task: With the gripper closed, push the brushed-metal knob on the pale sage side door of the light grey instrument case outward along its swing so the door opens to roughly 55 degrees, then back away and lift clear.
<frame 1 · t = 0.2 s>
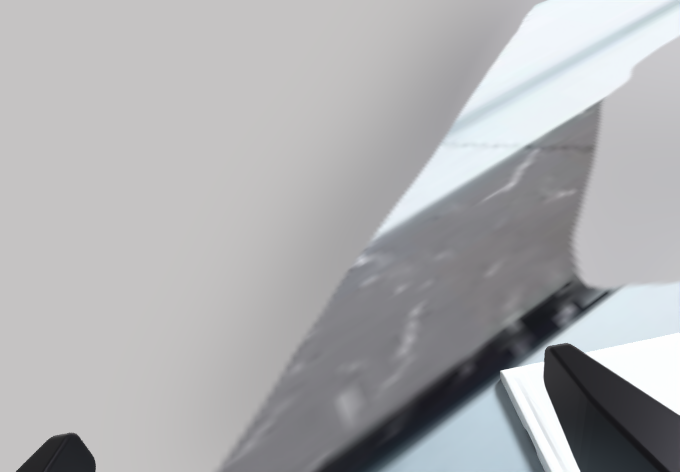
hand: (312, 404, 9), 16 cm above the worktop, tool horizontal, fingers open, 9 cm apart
external hard drive: (647, 425, 25), on the worktop
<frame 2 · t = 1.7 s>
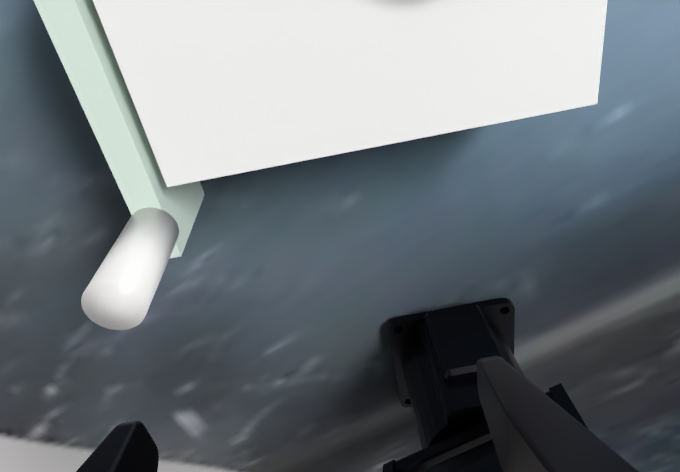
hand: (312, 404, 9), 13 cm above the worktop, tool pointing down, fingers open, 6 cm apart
side door: (109, 113, 14), point 5 cm above the worktop, hinge at 0.0°
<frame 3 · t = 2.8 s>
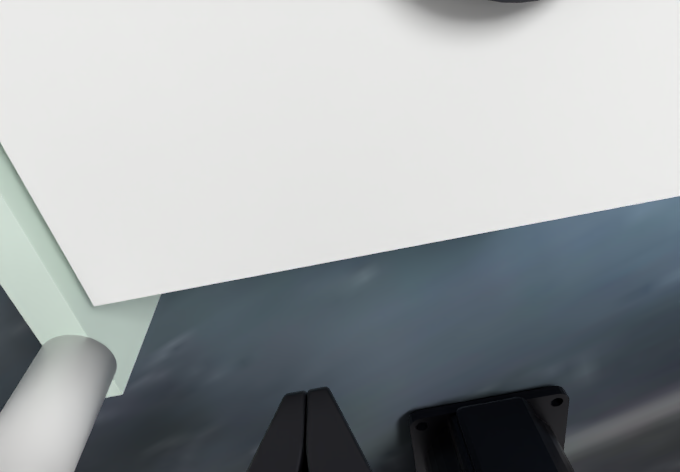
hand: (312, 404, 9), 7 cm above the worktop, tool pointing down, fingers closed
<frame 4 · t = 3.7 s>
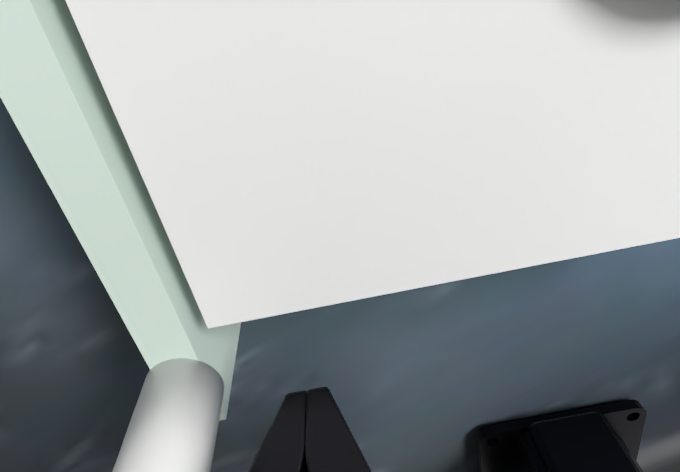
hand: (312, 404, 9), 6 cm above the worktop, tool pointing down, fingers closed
side door: (114, 220, 8), point 5 cm above the worktop, hinge at 0.0°, touching gripper
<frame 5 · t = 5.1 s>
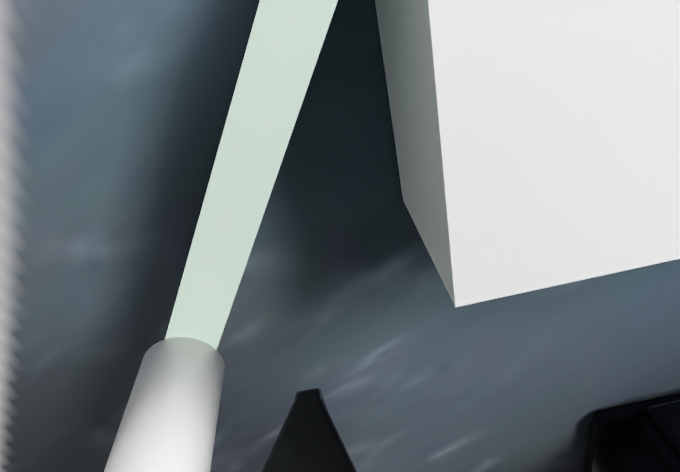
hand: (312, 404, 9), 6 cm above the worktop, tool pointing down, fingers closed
side door: (236, 196, 8), point 5 cm above the worktop, hinge at 32.3°, touching gripper
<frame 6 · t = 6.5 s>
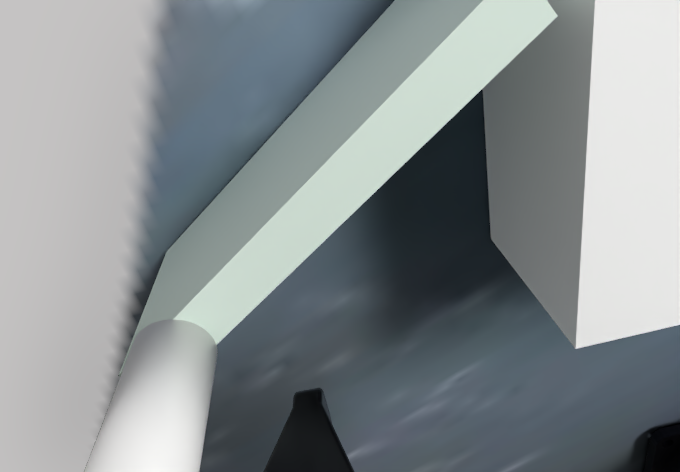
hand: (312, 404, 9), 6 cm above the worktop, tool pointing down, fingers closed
side door: (305, 211, 9), point 5 cm above the worktop, hinge at 55.9°, touching gripper
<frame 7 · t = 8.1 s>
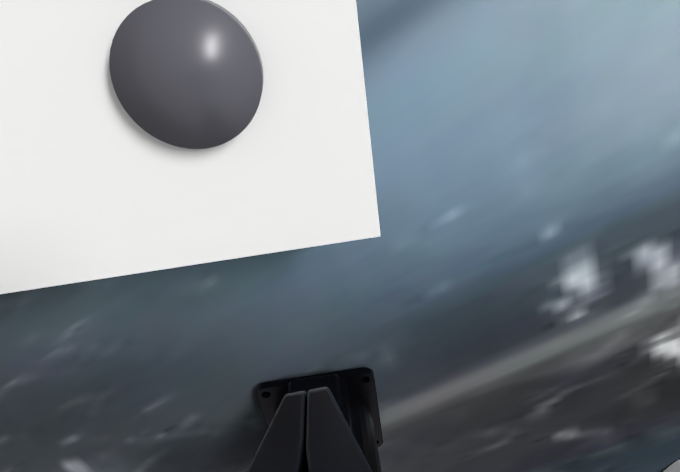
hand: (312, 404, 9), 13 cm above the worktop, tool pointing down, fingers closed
instrument case: (175, 91, 19), on the worktop
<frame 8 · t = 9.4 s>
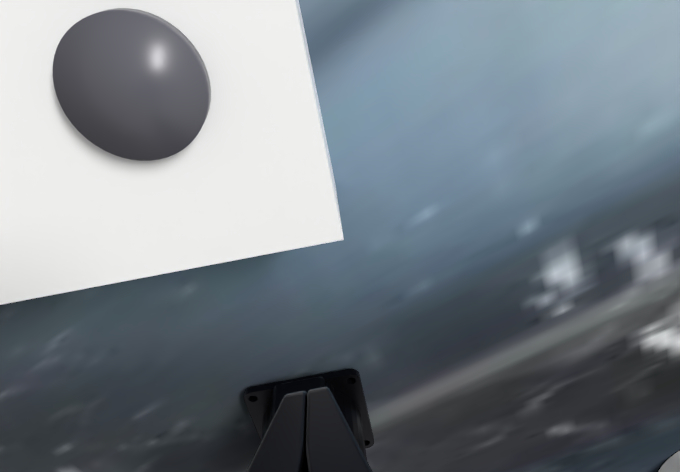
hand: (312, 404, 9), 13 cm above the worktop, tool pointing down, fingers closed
instrument case: (139, 102, 19), on the worktop
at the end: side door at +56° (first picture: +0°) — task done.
